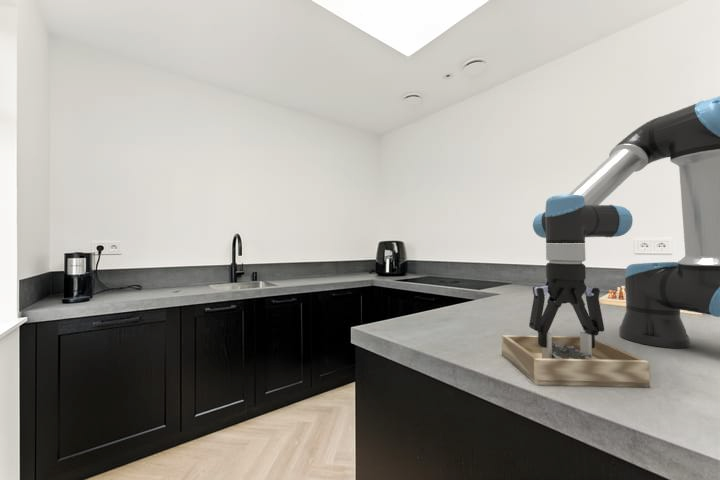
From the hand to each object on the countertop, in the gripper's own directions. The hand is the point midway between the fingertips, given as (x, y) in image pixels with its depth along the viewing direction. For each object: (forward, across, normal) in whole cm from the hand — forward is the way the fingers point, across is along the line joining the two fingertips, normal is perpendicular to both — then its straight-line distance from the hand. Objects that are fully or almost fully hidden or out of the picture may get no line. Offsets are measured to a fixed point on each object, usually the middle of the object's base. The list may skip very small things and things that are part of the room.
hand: (566, 361), depth 70 cm
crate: (+2, 0, 0) cm, 2 cm away
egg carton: (+1, 0, 0) cm, 1 cm away
